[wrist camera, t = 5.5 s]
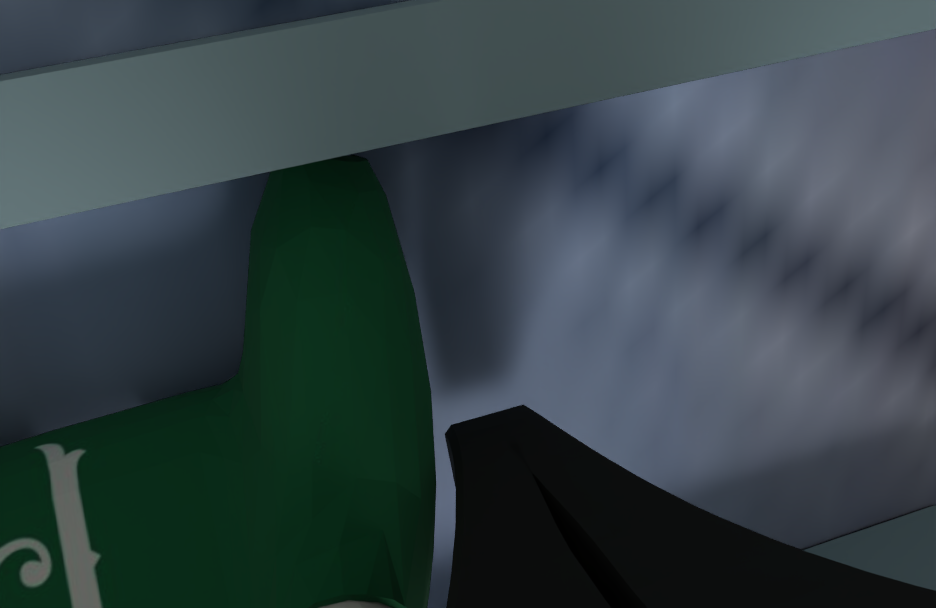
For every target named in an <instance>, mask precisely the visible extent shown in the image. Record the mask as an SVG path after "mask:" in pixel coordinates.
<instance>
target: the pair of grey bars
mask: <svg viewBox="0 0 936 608" xmlns="http://www.w3.org/2000/svg"><path fill="white" fill-rule="evenodd" d="M933 29H936V0H410V1H404V2H399V3H393V4H388V5H382V6H377V7H371V8H366V9H360V10H355V11H349V12H344V13H338V14H333V15H327V16H322V17H316V18H311V19H305V20H300V21H294V22H289V23H283V24H278V25H272V26H267V27H261V28H255V29H250V30H244V31H239V32H233V33H228V34H222V35H217V36H211V37H206V38H200V39H195V40H189V41H184V42H178V43H173V44H167V45H162V46H156V47H151V48H145V49H140V50H134V51H129V52H123V53H118V54H112V55H106V56H101V57H95V58H90V59H84V60H79V61H73V62H68V63H62V64H57V65H51V66H46V67H40V68H35V69H29V70H24V71H18V72H13V73H7V74H2V75H0V229H4V228H9V227H14V226H18V225H23V224H28V223H32V222H37V221H42V220H46V219H51V218H56V217H60V216H65V215H70V214H74V213H79V212H84V211H88V210H93V209H98V208H102V207H107V206H112V205H116V204H121V203H126V202H130V201H135V200H140V199H144V198H149V197H154V196H158V195H163V194H168V193H172V192H177V191H182V190H186V189H191V188H196V187H200V186H205V185H210V184H214V183H219V182H224V181H228V180H233V179H238V178H242V177H247V176H252V175H256V174H261V173H266V172H270V171H275V170H280V169H284V168H289V167H294V166H298V165H303V164H308V163H312V162H317V161H322V160H326V159H331V158H336V157H340V156H345V155H350V154H354V153H359V152H364V151H368V150H373V149H378V148H382V147H387V146H392V145H396V144H401V143H406V142H410V141H415V140H420V139H424V138H429V137H434V136H438V135H443V134H448V133H452V132H457V131H462V130H466V129H471V128H476V127H480V126H485V125H490V124H494V123H499V122H504V121H508V120H513V119H518V118H522V117H527V116H532V115H536V114H541V113H546V112H550V111H555V110H560V109H564V108H569V107H574V106H578V105H583V104H588V103H592V102H597V101H602V100H606V99H611V98H616V97H620V96H625V95H630V94H634V93H639V92H644V91H648V90H653V89H658V88H662V87H667V86H672V85H676V84H681V83H686V82H690V81H695V80H700V79H704V78H709V77H714V76H718V75H723V74H728V73H732V72H737V71H742V70H746V69H751V68H755V67H760V66H765V65H769V64H774V63H779V62H783V61H788V60H793V59H797V58H802V57H807V56H811V55H816V54H821V53H825V52H830V51H835V50H839V49H844V48H849V47H853V46H858V45H863V44H867V43H872V42H877V41H881V40H886V39H891V38H895V37H900V36H905V35H909V34H914V33H919V32H923V31H928V30H933ZM803 551H806V552H809V553H812V554H815V555H818V556H821V557H825V558H828V559H831V560H834V561H837V562H840V563H843V564H846V565H849V566H852V567H855V568H858V569H861V570H864V571H867V572H870V573H874V574H877V575H881V576H884V577H888V578H891V579H895V580H898V581H902V582H905V583H909V584H912V585H916V586H919V587H923V588H927V589H931V590H935V591H936V505H934V506H931V507H928V508H925V509H922V510H919V511H916V512H913V513H910V514H907V515H905V516H902V517H899V518H896V519H893V520H890V521H887V522H884V523H881V524H878V525H875V526H872V527H869V528H866V529H864V530H861V531H858V532H855V533H852V534H849V535H846V536H843V537H840V538H837V539H834V540H831V541H828V542H826V543H823V544H820V545H817V546H814V547H811V548H808V549H805V550H803Z"/></svg>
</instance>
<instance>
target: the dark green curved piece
mask: <svg viewBox="0 0 936 608" xmlns="http://www.w3.org/2000/svg"><path fill="white" fill-rule="evenodd" d="M435 500H436V471H435V454H434V437H433V419H432V401H431V389H430V383H429V377H428V371H427V365H426V359H425V353H424V347H423V341H422V335H421V329H420V323H419V317H418V311H417V305H416V299H415V293H414V289H413V285H412V282H411V279H410V275H409V272H408V269H407V265H406V262H405V258H404V255H403V252H402V248H401V245H400V241H399V238H398V235H397V231H396V228H395V225H394V221H393V218H392V214H391V211H390V208H389V204H388V201H387V197H386V194H385V193H384V191H383V189H382V187H381V185H380V183H379V181H378V179H377V177H376V175H375V174H374V172H373V170H372V168H371V166H370V164H369V162H368V160H367V159H366V158H363V157H359V156H356V155H351V156H340V157H336V158H331V159H326V160H322V161H317V162H312V163H308V164H303V165H298V166H294V167H289V168H284V169H280V170H275V171H271V172H270V175H269V178H268V181H267V184H266V187H265V190H264V193H263V196H262V199H261V202H260V205H259V208H258V211H257V214H256V217H255V220H254V223H253V226H252V229H251V240H250V255H249V270H248V285H247V300H246V315H245V330H244V345H243V354H242V358H241V363H240V367H239V371H238V373H237V374H236V375H235V376H234V377H233V378H231V379H230V380H228V381H226V382H224V383H223V384H220V385H216V386H212V387H207V388H203V389H199V390H195V391H190V392H186V393H183V394H179V395H176V396H172V397H169V398H165V399H162V400H158V401H155V402H151V403H148V404H144V405H141V406H137V407H134V408H130V409H127V410H123V411H120V412H116V413H113V414H109V415H106V416H102V417H98V418H95V419H91V420H88V421H84V422H81V423H77V424H74V425H70V426H67V427H63V428H60V429H56V430H53V431H50V432H46V433H43V434H40V435H37V436H33V437H30V438H27V439H24V440H21V441H17V442H14V443H11V444H8V445H4V446H1V447H0V608H427V605H428V598H429V590H430V580H431V571H432V561H433V550H434V528H435Z"/></svg>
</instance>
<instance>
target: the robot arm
mask: <svg viewBox="0 0 936 608" xmlns="http://www.w3.org/2000/svg"><path fill="white" fill-rule="evenodd" d="M445 438H446V443H447V448H448V452H449V457H450V462H451V467H452V472H453V477H454V482H455V487H456V527H455V540H454V551H453V561H452V572H451V580H450V587H449V594H448V601H447V607H446V608H936V591H935V590H931V589H927V588H923V587H919V586H916V585H912V584H909V583H905V582H902V581H898V580H895V579H891V578H888V577H884V576H881V575H877V574H874V573H870V572H867V571H864V570H861V569H858V568H855V567H852V566H849V565H846V564H843V563H840V562H837V561H834V560H831V559H828V558H825V557H821V556H818V555H815V554H812V553H809V552H806V551H803V550H801V549H798V548H795V547H793V546H790V545H787V544H784V543H782V542H779V541H776V540H774V539H771V538H769V537H766V536H764V535H761V534H759V533H756V532H754V531H752V530H749V529H747V528H744V527H742V526H740V525H737V524H735V523H732V522H730V521H728V520H725V519H723V518H720V517H718V516H716V515H714V514H711V513H709V512H707V511H705V510H703V509H701V508H698V507H696V506H694V505H692V504H690V503H688V502H686V501H684V500H682V499H680V498H678V497H676V496H674V495H672V494H670V493H668V492H666V491H664V490H663V489H661V488H659V487H657V486H655V485H653V484H651V483H649V482H647V481H645V480H644V479H642V478H640V477H638V476H636V475H635V474H633V473H631V472H629V471H628V470H626V469H624V468H623V467H621V466H619V465H618V464H616V463H614V462H613V461H611V460H609V459H607V458H606V457H604V456H602V455H601V454H599V453H598V452H596V451H594V450H593V449H591V448H590V447H588V446H586V445H585V444H583V443H582V442H580V441H579V440H577V439H576V438H574V437H572V436H571V435H569V434H568V433H566V432H565V431H563V430H562V429H560V428H559V427H557V426H556V425H554V424H553V423H551V422H550V421H548V420H547V419H545V418H544V417H542V416H541V415H539V414H537V413H536V412H534V411H533V410H531V409H530V408H528V407H526V406H525V405H521V406H517V407H513V408H510V409H506V410H503V411H499V412H496V413H492V414H488V415H485V416H481V417H478V418H474V419H471V420H467V421H464V422H460V423H456V424H453V425H451V426H450V428H449V429H448V430H447V432H446V433H445Z"/></svg>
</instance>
